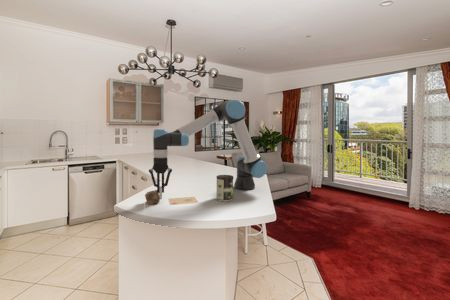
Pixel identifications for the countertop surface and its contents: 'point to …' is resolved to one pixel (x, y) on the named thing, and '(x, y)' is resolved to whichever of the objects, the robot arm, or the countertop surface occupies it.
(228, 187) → the coffee can
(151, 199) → the walnut block
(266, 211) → the countertop surface
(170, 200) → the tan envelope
